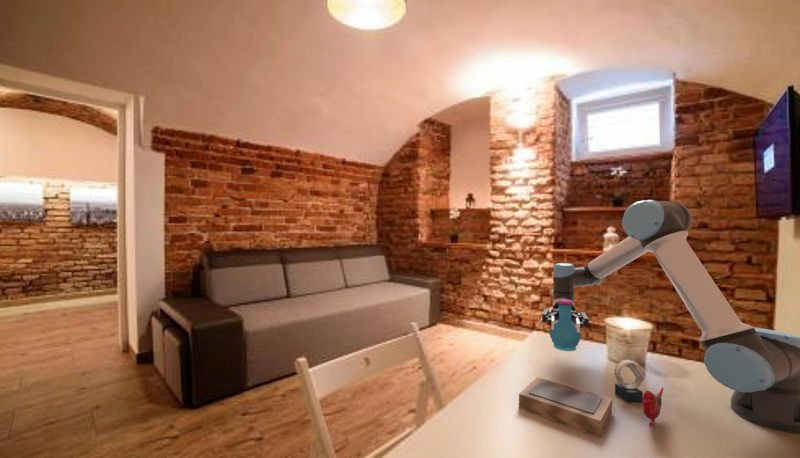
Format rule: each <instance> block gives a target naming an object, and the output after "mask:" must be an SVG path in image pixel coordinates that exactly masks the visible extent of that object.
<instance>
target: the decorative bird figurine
mask: <svg viewBox="0 0 800 458" xmlns="http://www.w3.org/2000/svg"><path fill="white" fill-rule="evenodd" d="M664 389H665V388H664V387H661V389H660V390H659V391H658V393H653V392H652V391H650V390H646V391H643V403H642V411H643V413H644V415H645V417H646V418H647V419H649V420H650V422H649V425H648V428H650V427H652V426H653V425H654V424H655V420H656V419H657V418H658V417H659V415H660V413H661V409H662V403H663V402H662V396H663V393H664Z"/></svg>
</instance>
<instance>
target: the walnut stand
mask: <svg viewBox="0 0 800 458" xmlns="http://www.w3.org/2000/svg"><path fill="white" fill-rule="evenodd" d="M518 409H520V410H523V411H525V412H527V413H531V414H534V415H537V416H540V417H542V418H545V419H548V420H550V421H553V422H556V423H560V424H561V425H564V426H568V427H570V428H573V429H575V430H579V431H582V432H584V433H587V434H590V435H593V436H595V437H598V438H601V437H602V436H603V433H604V431H605V429H606V426H607V425H608V423H609V421H610V418H611V417H612V415H613V398H611V397H606V396H603V395H600V394H597V393H593V392H590V391H586V390H582V389H579V388H577V387H573V386H569V385H566V384H561V383H559V382H555V381H552V380H549V379H545V378H541V377H538V376H536V378H534V380H532V381H531V382H530V383H529V384H528V385H527V386H526V387H525V388H524V389H523V390H522V391H520V392H519V393H518Z"/></svg>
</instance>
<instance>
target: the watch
mask: <svg viewBox="0 0 800 458" xmlns="http://www.w3.org/2000/svg"><path fill="white" fill-rule="evenodd" d="M625 366H628V368H629V370H630V371H631V373H633V375H634V377H635V379H634V380H633V381H632V383H630V382H624V380H623V376H622V373H621V372H622V370H623V368H624V367H625ZM646 374H647V373H646V371H645V369H643V367H642V366H641V365H640V364H639V363H638V362H636V361H635V360H630V359H621V360H620V361H618V363H616V364H615V367H614V378H615V380H616V382H617V383H614V395H616V396H617V397H619V398H620V399H621V400H623V401H624V402H626V403H628V404H638V403H639V404H640V403H642V404H643V394H644V391H642V390H641V389H639V387H640V386H641V385H642V383H643V382H644V381H645V377H646Z"/></svg>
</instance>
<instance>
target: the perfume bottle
mask: <svg viewBox="0 0 800 458" xmlns="http://www.w3.org/2000/svg"><path fill="white" fill-rule="evenodd" d="M558 303H559V320H556V321H555V322H554V330H552V329H551V328H550V329H549V330H548V331H549V332H548V333H549V336H550V339H551V343H553V348H554V349H557V350H559V351H563V352H575V351H576V350H577V346H578V345H579V343H580V341H581V338H582V334H581V332H580V333H578V332H577V330H576V324H575V323H573V322H572V321H571V307H572V305H571V304H573V302H572V301H571V300H566V299H561V300H559V301H558Z"/></svg>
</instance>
